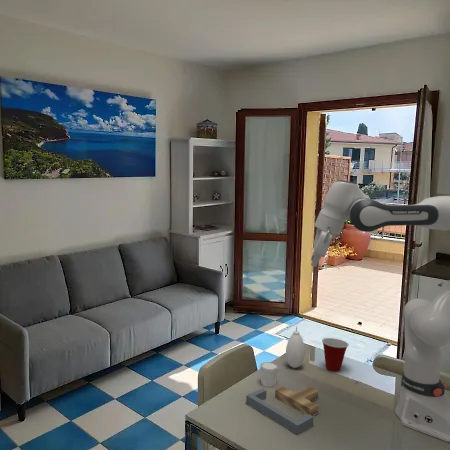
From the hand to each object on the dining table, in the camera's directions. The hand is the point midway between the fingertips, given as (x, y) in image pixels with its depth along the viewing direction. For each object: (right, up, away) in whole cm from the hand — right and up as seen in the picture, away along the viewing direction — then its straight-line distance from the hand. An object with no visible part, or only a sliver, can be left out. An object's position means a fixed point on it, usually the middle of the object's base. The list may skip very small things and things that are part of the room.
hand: (313, 263), depth 147 cm
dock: (-11, -50, -1) cm, 52 cm away
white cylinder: (-13, -48, +19) cm, 54 cm away
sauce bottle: (-1, -47, +34) cm, 58 cm away
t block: (-2, -50, +7) cm, 50 cm away
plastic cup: (+15, -47, +34) cm, 60 cm away
